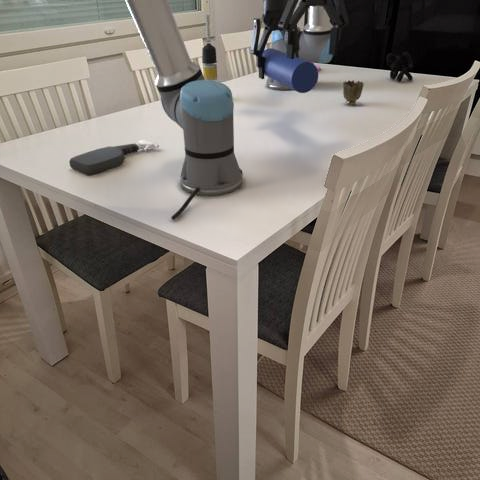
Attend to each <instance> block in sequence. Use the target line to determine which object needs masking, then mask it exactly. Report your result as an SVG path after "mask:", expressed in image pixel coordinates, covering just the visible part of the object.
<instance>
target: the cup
mask: <svg viewBox="0 0 480 480" xmlns="http://www.w3.org/2000/svg"><path fill="white" fill-rule="evenodd" d="M364 84H365V82H363V81H360V80H357V82H355V80H347V81H346V80H345V81H343V82H342V95H343V98H344V99H345V101H346V102H345V103H346V105H348V106H355V105H356V104H357V101H358V100H359V99H360V98H361V96H362V92H363V89H364Z"/></svg>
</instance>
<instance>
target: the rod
mask: <svg viewBox="0 0 480 480" xmlns="http://www.w3.org/2000/svg"><path fill="white" fill-rule="evenodd" d="M262 56H264V57H265V61H264V77H267V78H268V77H269V78H271V79H273V80H275V81H277V82H279V83H281V84H283V85H285V86H287V87H289V88H291V89H293V91H295V92H297V93H299V94H306V93H309V92H310V91H312V90H313V89H314V88H315V86H316V85H317V83H318V80H319V71H318V70H317V68H316V66H317V65H315V63H314V64H313V63H311V62H308V61H305V60H303V59H300V58H297V57H295V56H294V59H290V58H286V53H284V52H281V51H278V50H276V49H272V48H271V47H269V48H265V49H264V52H263V54H262Z"/></svg>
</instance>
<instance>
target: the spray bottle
mask: <svg viewBox="0 0 480 480" xmlns="http://www.w3.org/2000/svg"><path fill="white" fill-rule="evenodd" d="M159 148H160V145H159V144H158V143H155V142H151V141H148V140H144V139H139V140H138V141H137V142H135V143H129V144H128V143H126V144H122V145H113V146H105V147H100V148H97V149H94V150H90V151H87V152H83V153H81V154H78V155H74V156H73V157H70V159H69V161H68V162H69V167H70V168H71V169H72V170H74V171H75V172H78V173H81V174H83V175H85V176H89V177H90V176H91V177H92V176H95V175H99V174H102V173H105V172H107V171H110V170H113V169H116V168H118V167H120V166H122V165H123V164H124V163H125V158H126V156H127V155H131V154H133V153H138V151H140V150H143V151H144V152H146V151H147V150H149V149H159Z"/></svg>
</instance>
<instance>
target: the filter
mask: <svg viewBox="0 0 480 480" xmlns="http://www.w3.org/2000/svg"><path fill="white" fill-rule="evenodd" d="M210 17H211V14H204V18H205V27H206V29H205V30H206V31H205V33H206V39H207V40H206V42H207V43H206V45H204V46H202V49H201V50H202V51H201V52H202V54H201V55H202V57H201V58H202V61H201V63H202V74H203V76H204V79H205V80H210V81H214V82H216V80H218V64H216V63H218V61H217V48H216V47H215V46H214V45H212V43H210V42H211V40H210V39H211V31H210V29H211V28H210Z"/></svg>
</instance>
